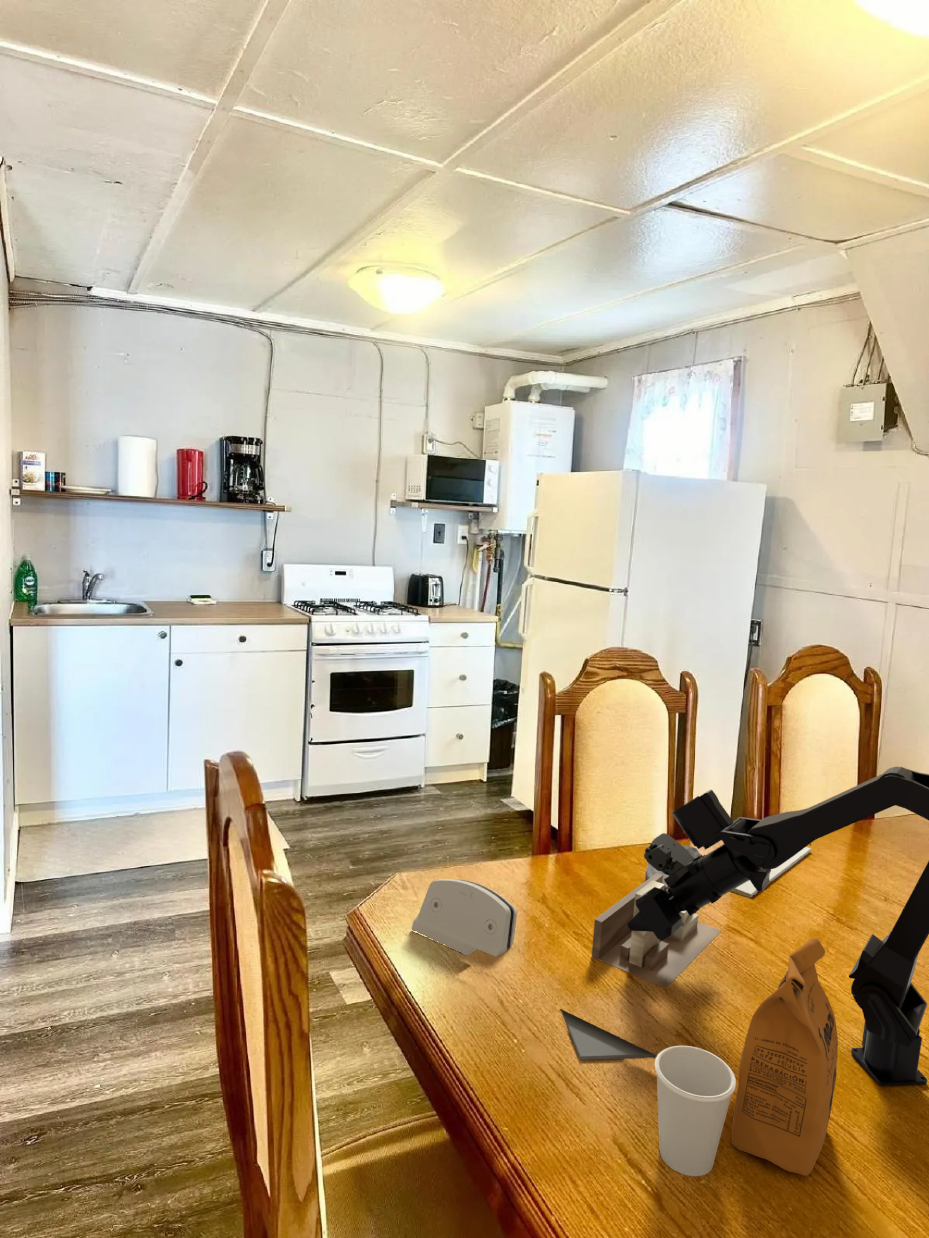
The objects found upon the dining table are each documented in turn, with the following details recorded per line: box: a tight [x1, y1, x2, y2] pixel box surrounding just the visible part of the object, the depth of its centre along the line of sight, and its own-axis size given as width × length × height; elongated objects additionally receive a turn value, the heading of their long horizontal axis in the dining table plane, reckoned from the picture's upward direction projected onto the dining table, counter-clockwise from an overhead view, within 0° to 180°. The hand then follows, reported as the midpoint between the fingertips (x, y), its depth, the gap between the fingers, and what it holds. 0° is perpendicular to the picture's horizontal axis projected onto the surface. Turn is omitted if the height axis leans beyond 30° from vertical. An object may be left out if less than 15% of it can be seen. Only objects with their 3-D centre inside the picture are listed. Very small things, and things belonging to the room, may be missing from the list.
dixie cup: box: [654, 1045, 737, 1177], centre depth 87 cm, size 8×8×10 cm
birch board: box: [629, 880, 665, 967], centre depth 123 cm, size 2×6×11 cm, turn 142°
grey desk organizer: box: [591, 873, 722, 989], centre depth 128 cm, size 12×22×8 cm, turn 142°
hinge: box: [411, 878, 518, 958], centre depth 128 cm, size 17×5×10 cm, turn 55°
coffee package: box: [731, 937, 839, 1177], centre depth 89 cm, size 10×12×22 cm
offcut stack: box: [669, 911, 699, 942], centre depth 132 cm, size 6×7×4 cm
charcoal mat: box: [560, 1008, 658, 1061], centre depth 108 cm, size 12×12×1 cm
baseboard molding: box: [730, 843, 812, 899], centre depth 164 cm, size 31×3×12 cm
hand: (638, 919), depth 124 cm, fingers closed on birch board, 6 cm apart
